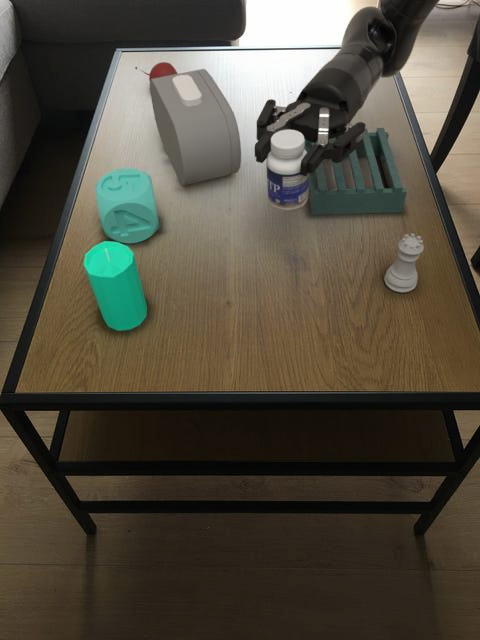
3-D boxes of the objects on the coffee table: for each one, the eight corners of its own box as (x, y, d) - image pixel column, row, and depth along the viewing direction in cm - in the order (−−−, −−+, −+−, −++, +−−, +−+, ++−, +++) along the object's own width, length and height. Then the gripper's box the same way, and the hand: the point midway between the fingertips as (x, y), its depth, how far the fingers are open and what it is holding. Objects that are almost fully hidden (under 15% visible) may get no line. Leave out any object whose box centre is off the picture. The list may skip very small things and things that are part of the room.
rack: (383, 152, 94) (388, 127, 90) (401, 212, 84) (408, 187, 80) (303, 154, 94) (305, 129, 90) (311, 214, 84) (314, 190, 81)
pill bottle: (262, 192, 72) (259, 132, 65) (299, 182, 72) (299, 121, 65) (276, 216, 68) (274, 155, 61) (314, 205, 69) (317, 144, 62)
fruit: (161, 92, 112) (136, 59, 107) (183, 78, 110) (159, 44, 105) (158, 108, 109) (132, 75, 103) (181, 94, 106) (156, 59, 101)
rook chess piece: (377, 275, 76) (388, 233, 70) (405, 267, 77) (418, 224, 71) (394, 298, 73) (406, 256, 67) (422, 289, 74) (437, 246, 68)
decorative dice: (161, 239, 82) (153, 197, 75) (108, 248, 81) (96, 206, 75) (156, 206, 87) (148, 164, 80) (106, 213, 86) (94, 171, 79)
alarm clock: (243, 188, 89) (241, 113, 78) (187, 201, 87) (178, 127, 77) (206, 123, 101) (200, 51, 90) (157, 134, 99) (145, 62, 89)
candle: (100, 302, 74) (77, 238, 65) (143, 292, 75) (126, 227, 66) (106, 335, 71) (83, 272, 61) (151, 324, 72) (135, 260, 62)
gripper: (288, 56, 72) (226, 119, 63) (392, 79, 68) (340, 151, 59) (287, 107, 78) (229, 172, 69) (382, 132, 73) (333, 205, 65)
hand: (280, 162), depth 64 cm, fingers closed on pill bottle, 5 cm apart
